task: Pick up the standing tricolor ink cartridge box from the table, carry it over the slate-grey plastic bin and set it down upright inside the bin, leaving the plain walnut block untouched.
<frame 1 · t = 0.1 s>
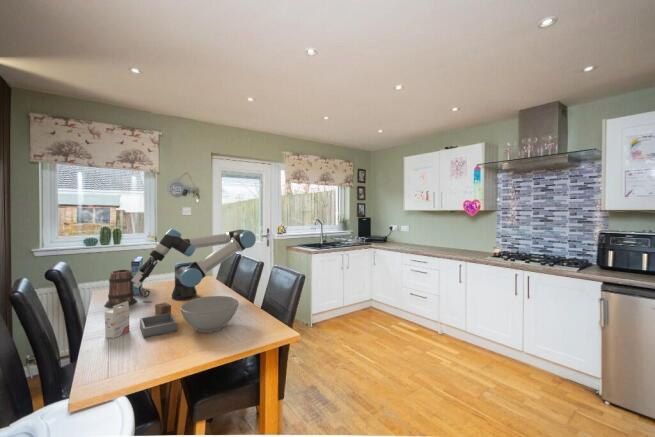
hand: (134, 284, 167), 15 cm above the table, tool tilted 35°, fingers open, 13 cm apart
walnut block: (163, 319, 155), on the table
ink cartridge box: (117, 334, 137), on the table
decorative bowl: (210, 328, 146), on the table
gum box: (137, 291, 206), on the table
bin: (158, 329, 143), on the table
tankard: (127, 303, 181), on the table
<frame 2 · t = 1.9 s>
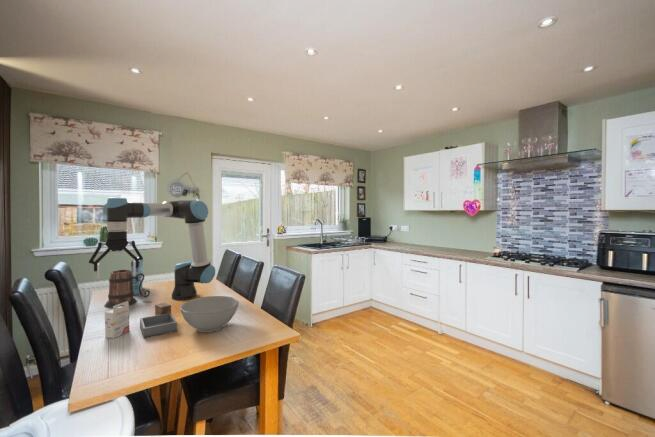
hand: (116, 276, 136), 27 cm above the table, tool pointing down, fingers open, 13 cm apart
nothing on the table moved.
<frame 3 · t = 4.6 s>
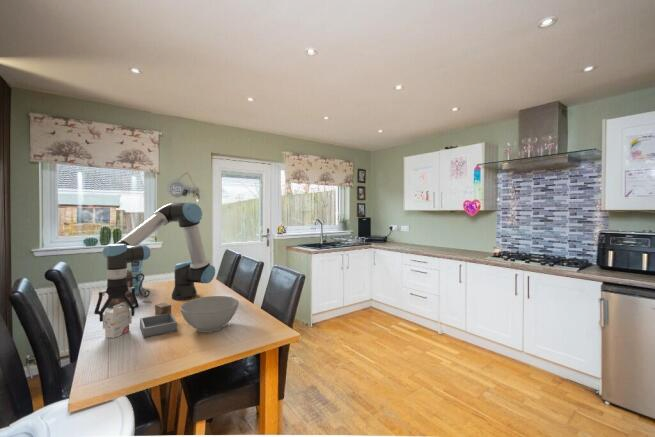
hand: (117, 325, 137), 4 cm above the table, tool pointing down, fingers closed on ink cartridge box, 9 cm apart
ink cartridge box: (117, 334, 137), on the table, touching gripper
everything else where it was.
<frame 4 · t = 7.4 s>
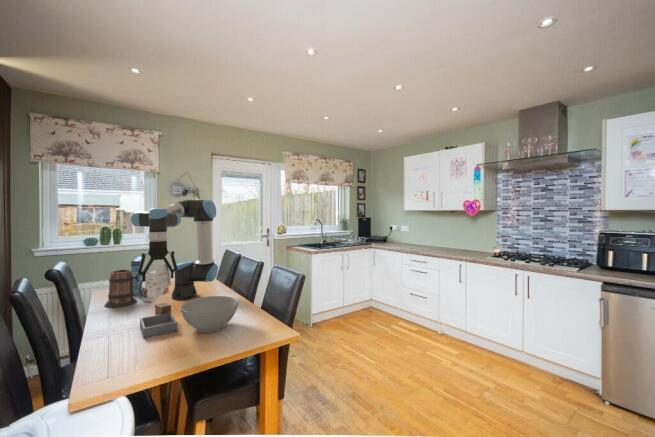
hand: (158, 286, 142), 21 cm above the table, tool pointing down, fingers closed on ink cartridge box, 9 cm apart
ink cartridge box: (158, 295, 142), point 17 cm above the table, touching gripper
everything else where it was.
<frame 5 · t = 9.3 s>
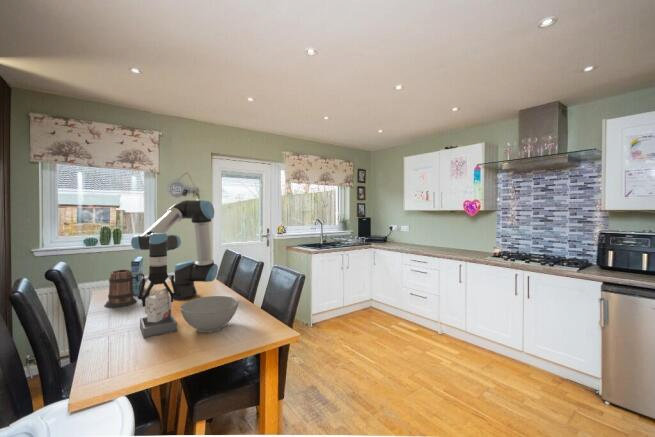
hand: (158, 310, 143), 9 cm above the table, tool pointing down, fingers closed on ink cartridge box, 9 cm apart
ink cartridge box: (158, 319, 143), point 5 cm above the table, touching gripper
everything else where it was.
when the fingers open (6 cm above the table, at t = 10.5 s): ink cartridge box drops 1 cm, resting on bin.
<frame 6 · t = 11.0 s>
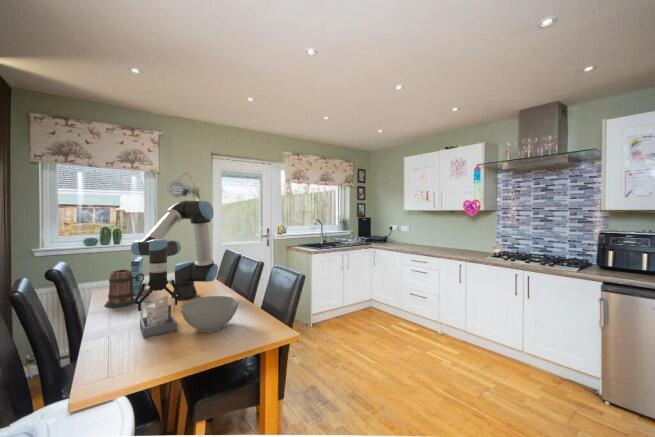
hand: (158, 314, 143), 7 cm above the table, tool pointing down, fingers open, 13 cm apart
ink cartridge box: (157, 328, 143), point 1 cm above the table, touching bin
everything else where it was.
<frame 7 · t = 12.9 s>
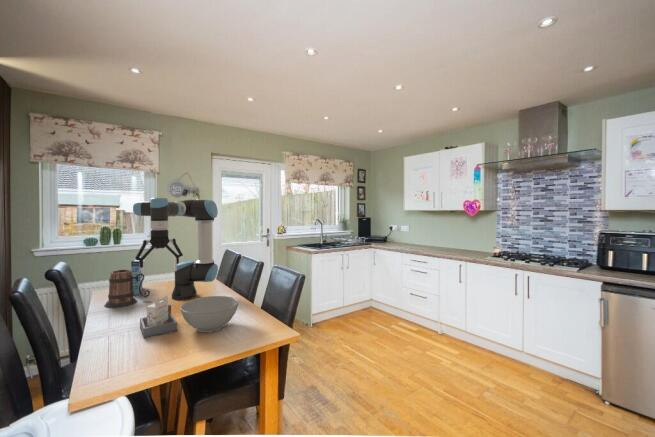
hand: (159, 272, 145), 27 cm above the table, tool pointing down, fingers open, 13 cm apart
nothing on the table moved.
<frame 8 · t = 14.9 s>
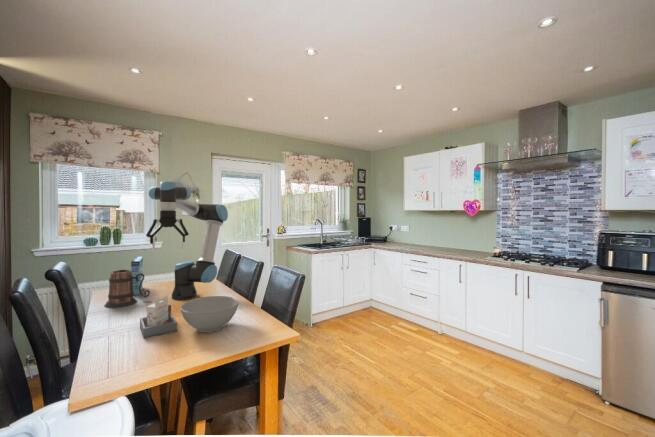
hand: (167, 249, 160), 37 cm above the table, tool pointing down, fingers open, 13 cm apart
nothing on the table moved.
at the end: ink cartridge box inside the target area on the bin (0.1 cm from its centre), point 0.6 cm above the bin's base; ink cartridge box tilted 0°; the gripper is holding nothing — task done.
